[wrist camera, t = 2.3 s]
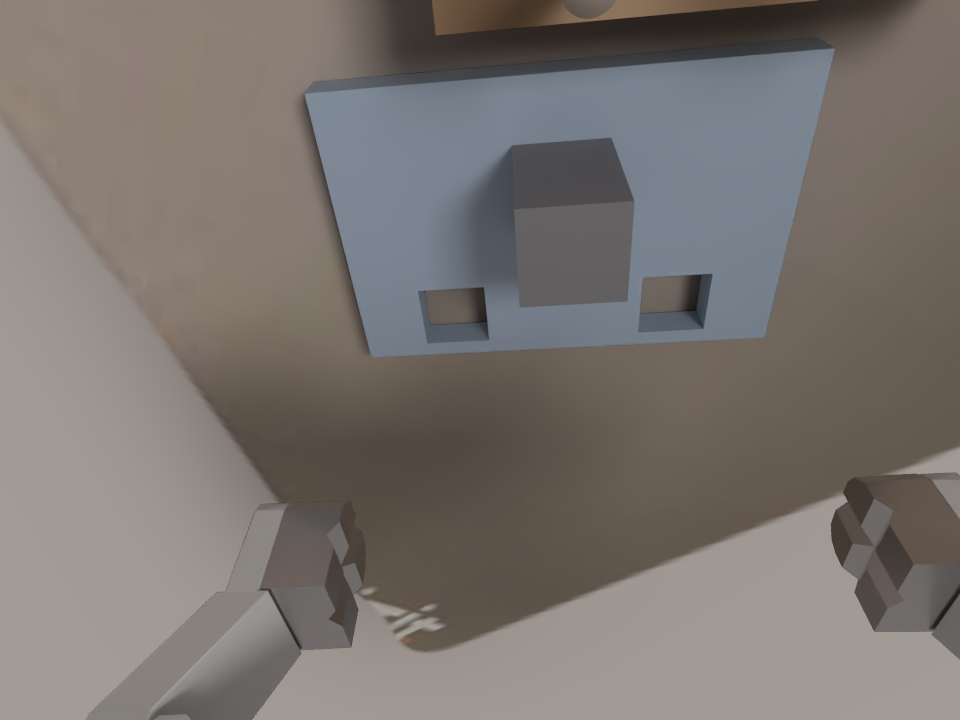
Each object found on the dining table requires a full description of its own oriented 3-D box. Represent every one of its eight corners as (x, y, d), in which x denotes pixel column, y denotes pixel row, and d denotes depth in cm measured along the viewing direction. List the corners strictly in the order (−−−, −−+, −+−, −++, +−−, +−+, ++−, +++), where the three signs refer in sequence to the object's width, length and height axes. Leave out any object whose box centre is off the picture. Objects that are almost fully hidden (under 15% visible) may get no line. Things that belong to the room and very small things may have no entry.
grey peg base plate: (818, 37, 18) (916, 97, 14) (754, 318, 25) (808, 420, 20) (313, 81, 19) (259, 149, 15) (376, 339, 26) (350, 439, 21)
